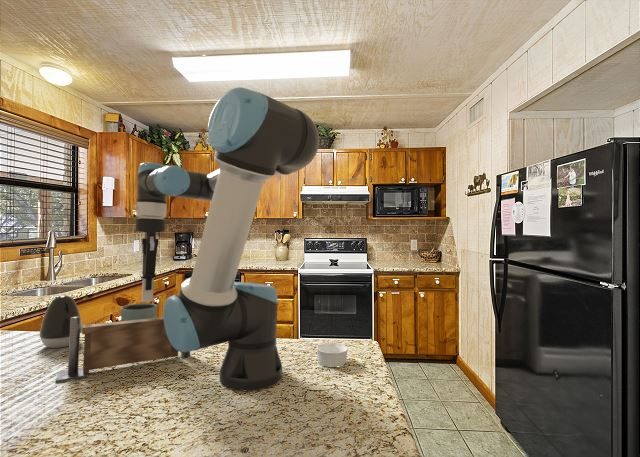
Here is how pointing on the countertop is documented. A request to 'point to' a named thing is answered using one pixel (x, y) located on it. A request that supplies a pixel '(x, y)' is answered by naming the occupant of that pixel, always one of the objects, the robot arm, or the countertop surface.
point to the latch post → (185, 354)
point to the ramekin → (332, 354)
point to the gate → (125, 343)
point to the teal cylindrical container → (138, 311)
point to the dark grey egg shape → (58, 322)
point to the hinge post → (73, 355)
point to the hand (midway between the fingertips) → (147, 300)
